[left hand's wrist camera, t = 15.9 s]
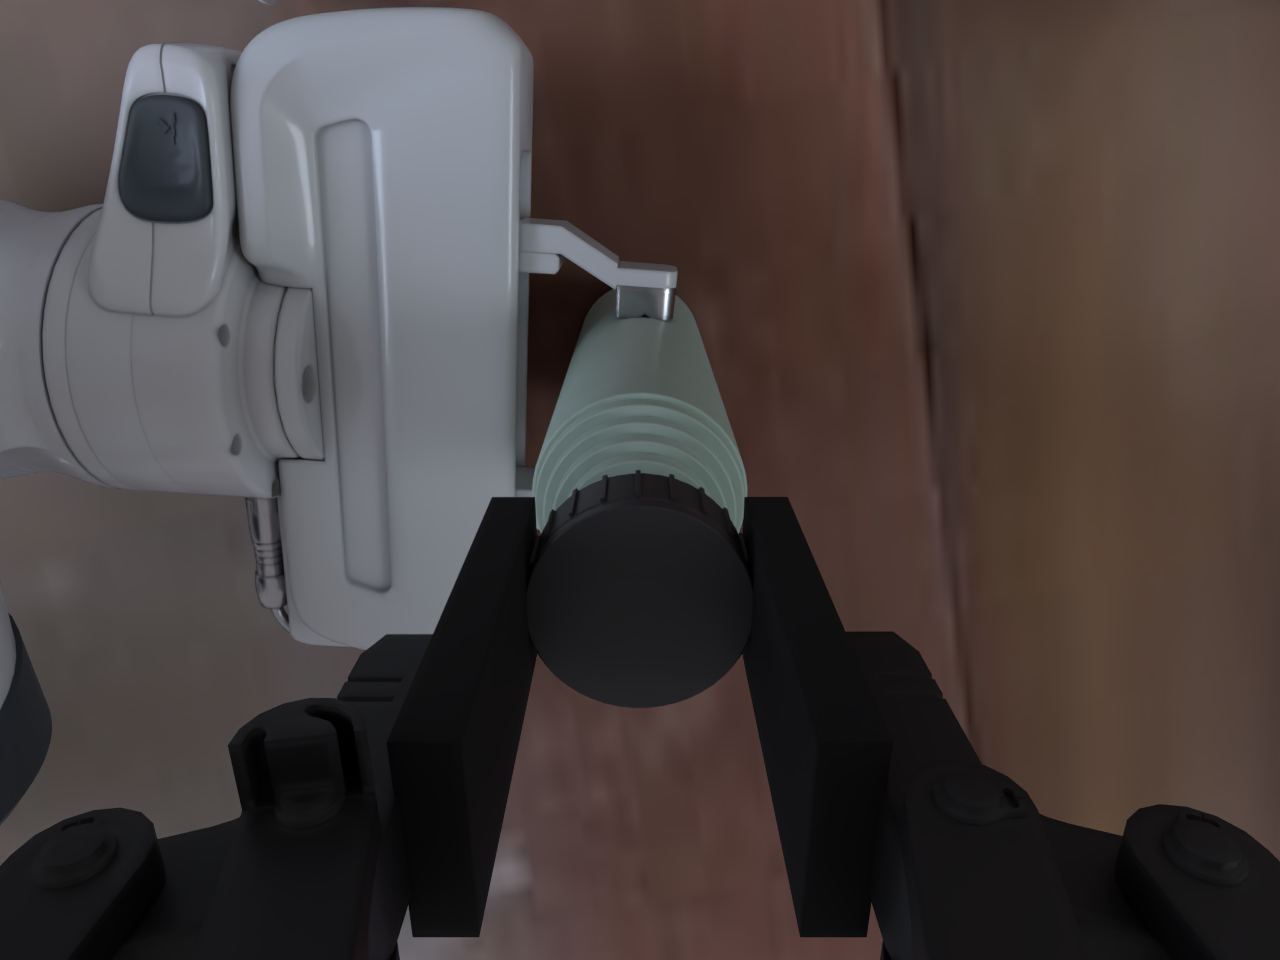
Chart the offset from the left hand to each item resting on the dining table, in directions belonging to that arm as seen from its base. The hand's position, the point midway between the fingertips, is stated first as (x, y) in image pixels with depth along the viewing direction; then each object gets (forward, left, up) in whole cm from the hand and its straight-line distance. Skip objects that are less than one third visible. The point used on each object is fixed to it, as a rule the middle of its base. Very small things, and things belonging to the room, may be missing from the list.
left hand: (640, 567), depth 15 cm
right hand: (-1, 0, -13) cm, 13 cm away
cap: (0, 0, +1) cm, 1 cm away
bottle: (0, 0, -19) cm, 19 cm away
